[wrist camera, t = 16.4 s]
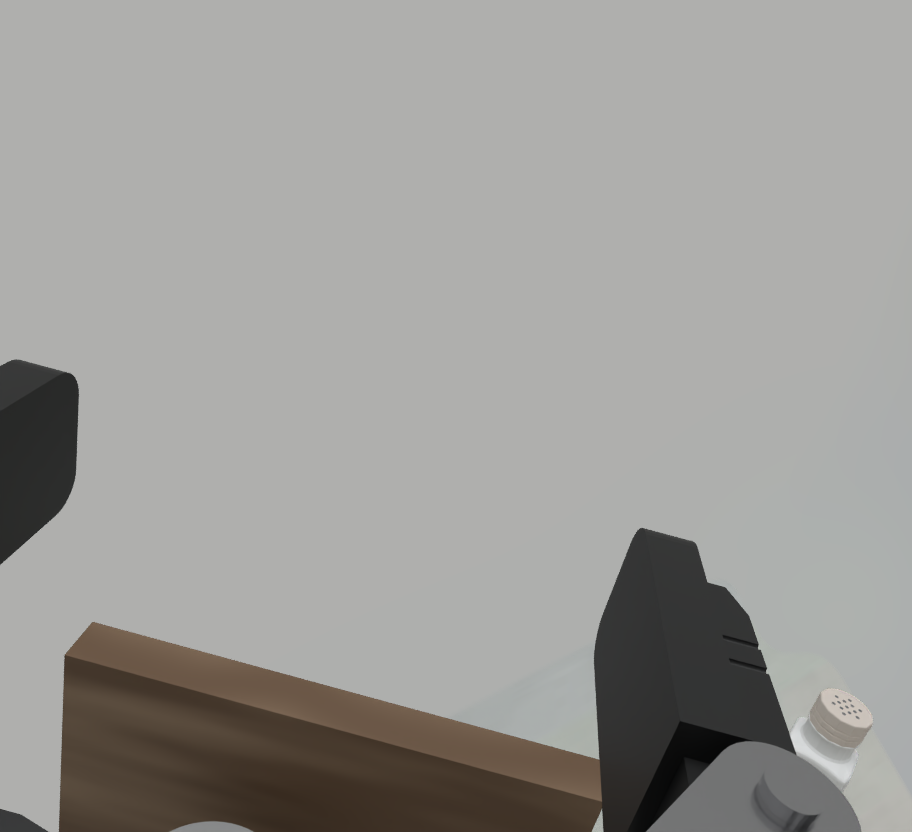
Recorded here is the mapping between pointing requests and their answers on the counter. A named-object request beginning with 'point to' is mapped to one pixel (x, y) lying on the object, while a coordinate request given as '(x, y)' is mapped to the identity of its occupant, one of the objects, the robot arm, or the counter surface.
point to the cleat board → (288, 753)
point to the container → (211, 827)
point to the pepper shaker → (832, 734)
